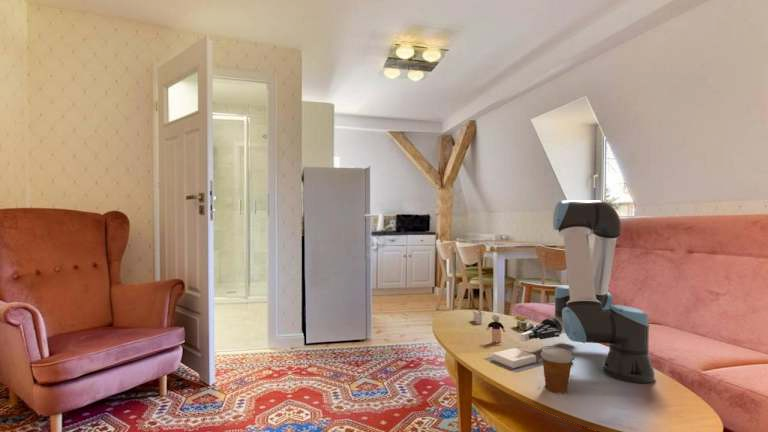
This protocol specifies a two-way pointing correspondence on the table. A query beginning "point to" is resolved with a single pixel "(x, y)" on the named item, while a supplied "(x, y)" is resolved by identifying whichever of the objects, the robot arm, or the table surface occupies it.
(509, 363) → the tile
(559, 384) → the disposable coffee cup
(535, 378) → the table surface
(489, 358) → the mat
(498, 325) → the grandmother figurine
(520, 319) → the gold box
